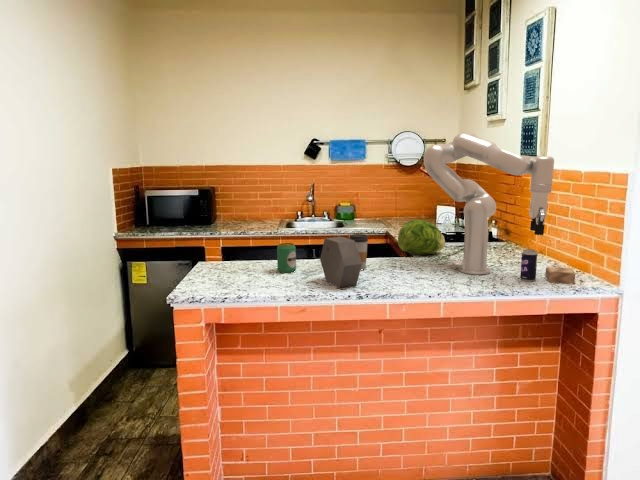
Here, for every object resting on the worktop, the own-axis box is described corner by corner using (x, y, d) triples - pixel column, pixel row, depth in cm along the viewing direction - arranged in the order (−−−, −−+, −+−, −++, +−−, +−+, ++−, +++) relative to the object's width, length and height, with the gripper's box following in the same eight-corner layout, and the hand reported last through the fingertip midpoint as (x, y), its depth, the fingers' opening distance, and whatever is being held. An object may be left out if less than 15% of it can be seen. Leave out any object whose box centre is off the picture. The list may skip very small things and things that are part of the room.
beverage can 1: (286, 274, 206) (286, 246, 204) (273, 271, 211) (273, 244, 209) (299, 271, 211) (299, 244, 209) (287, 268, 217) (286, 241, 215)
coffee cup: (371, 268, 215) (372, 235, 212) (359, 272, 209) (360, 237, 206) (356, 266, 220) (357, 233, 218) (344, 269, 214) (344, 235, 212)
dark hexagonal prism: (366, 277, 181) (350, 227, 188) (348, 280, 178) (333, 229, 185) (346, 292, 195) (333, 245, 202) (330, 294, 192) (316, 247, 199)
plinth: (548, 282, 190) (549, 271, 190) (545, 276, 199) (546, 266, 198) (574, 284, 188) (575, 273, 187) (569, 278, 196) (570, 267, 196)
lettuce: (456, 241, 235) (445, 215, 248) (412, 234, 229) (403, 208, 242) (440, 266, 247) (431, 240, 260) (397, 260, 241) (390, 234, 254)
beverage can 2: (522, 277, 198) (524, 248, 196) (537, 280, 194) (539, 250, 192) (518, 280, 193) (520, 251, 191) (533, 282, 190) (535, 252, 188)
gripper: (526, 186, 197) (523, 228, 200) (534, 190, 180) (529, 236, 184) (546, 187, 195) (542, 229, 198) (556, 191, 179) (551, 237, 182)
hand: (536, 232), depth 191 cm, fingers open, 9 cm apart
